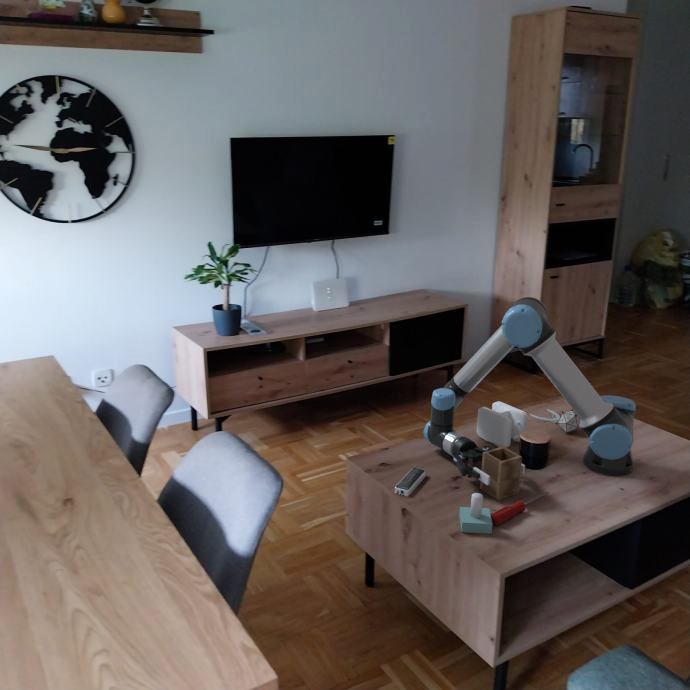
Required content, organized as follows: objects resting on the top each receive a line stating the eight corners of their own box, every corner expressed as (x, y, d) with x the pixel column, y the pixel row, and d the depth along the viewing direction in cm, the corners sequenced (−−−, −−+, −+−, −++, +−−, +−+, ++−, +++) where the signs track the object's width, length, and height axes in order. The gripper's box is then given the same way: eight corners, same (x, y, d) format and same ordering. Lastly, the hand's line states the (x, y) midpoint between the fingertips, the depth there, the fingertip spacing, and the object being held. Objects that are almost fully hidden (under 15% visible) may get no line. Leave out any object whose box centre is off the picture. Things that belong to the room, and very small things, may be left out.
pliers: (548, 406, 271) (579, 420, 259) (547, 410, 271) (578, 424, 259) (529, 411, 266) (560, 426, 254) (529, 415, 267) (559, 430, 254)
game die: (572, 442, 252) (588, 428, 245) (550, 434, 252) (566, 420, 244) (572, 422, 258) (587, 408, 251) (551, 414, 257) (565, 400, 250)
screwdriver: (553, 499, 208) (554, 488, 207) (497, 528, 193) (498, 516, 192) (543, 494, 210) (544, 483, 209) (487, 522, 195) (488, 511, 194)
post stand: (488, 517, 197) (490, 489, 195) (491, 533, 190) (494, 504, 187) (459, 516, 198) (461, 487, 195) (461, 532, 190) (463, 502, 188)
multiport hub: (425, 476, 220) (426, 470, 220) (407, 497, 208) (408, 490, 208) (412, 473, 222) (413, 467, 222) (394, 494, 210) (394, 487, 209)
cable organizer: (473, 436, 248) (476, 405, 245) (494, 428, 254) (497, 398, 251) (506, 451, 237) (509, 419, 233) (527, 443, 243) (530, 412, 239)
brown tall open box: (500, 481, 217) (503, 446, 213) (518, 493, 210) (522, 456, 207) (480, 488, 213) (482, 452, 209) (498, 500, 207) (501, 463, 203)
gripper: (489, 449, 232) (536, 476, 215) (428, 467, 220) (472, 497, 203) (491, 428, 230) (538, 454, 213) (429, 445, 218) (474, 473, 200)
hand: (506, 475), depth 208 cm, fingers open, 13 cm apart
